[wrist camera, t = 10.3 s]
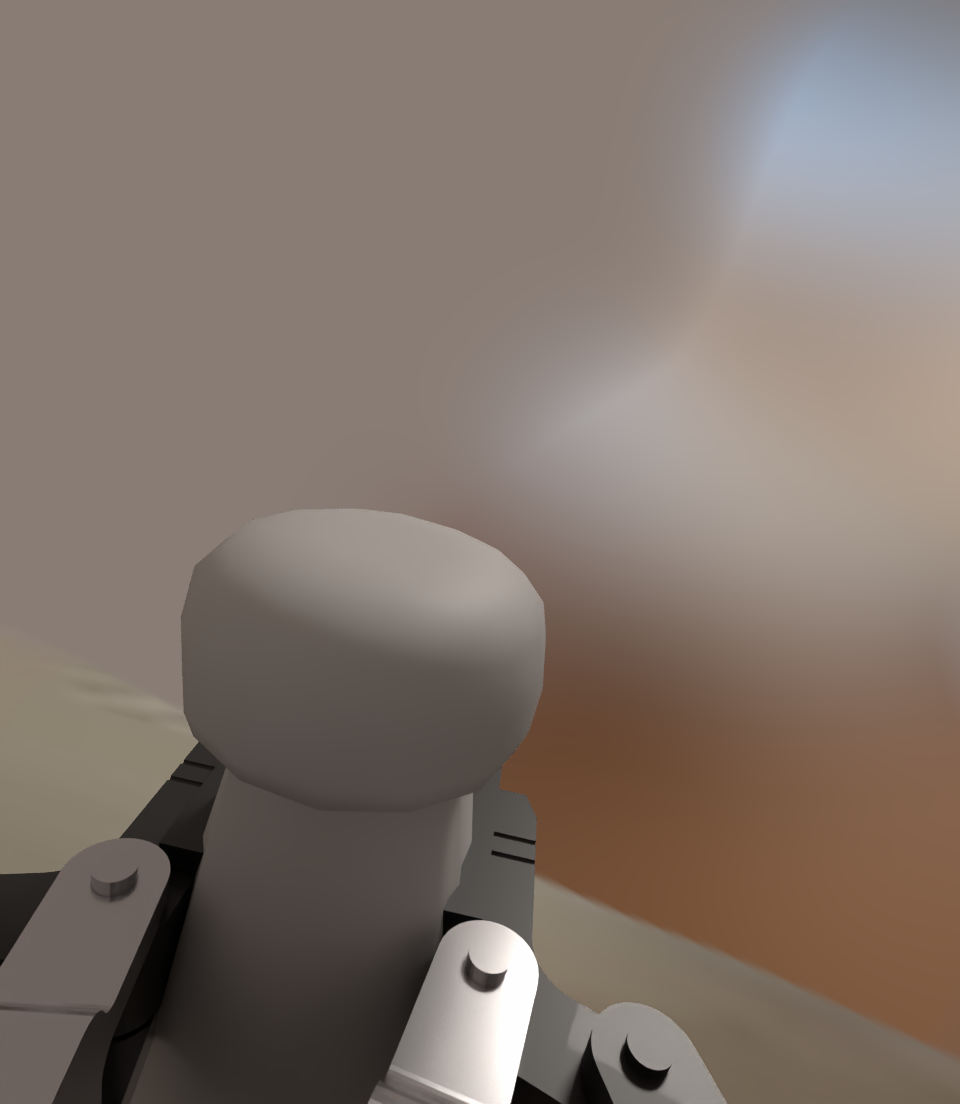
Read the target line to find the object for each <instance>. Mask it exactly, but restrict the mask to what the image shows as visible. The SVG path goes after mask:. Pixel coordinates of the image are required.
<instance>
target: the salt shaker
mask: <svg viewBox="0 0 960 1104" xmlns="http://www.w3.org/2000/svg"><path fill="white" fill-rule="evenodd" d="M181 637H182V638H181V639H182V676H183V703H184V714H185V716H186V719H187V721H188V724H189V726H190V729H191V731H192V734H193V736H194V737H195V738H196V739H197V740H198V741H199V742H200V743H201V744H202V745H203V746H204V747H205V748H206V749H207V750H208V751H209V752H210V753H212V754H213V755H214V756H215V757H216V758H217V759H218V760H219V761H220V762H221V763H222V764H223V765H224V766H225V767H226V769H225V772H224V775H223V778H222V781H221V784H220V787H219V790H218V792H217V795H216V798H215V801H214V804H213V807H212V810H211V813H210V816H209V819H208V822H207V825H206V828H205V831H204V834H203V847H204V854H203V857H202V859H201V862H200V865H199V867H198V870H197V873H196V876H195V880H194V884H193V888H192V892H191V897H190V901H189V905H188V909H187V913H186V917H185V920H184V924H183V927H182V931H181V935H180V938H179V942H178V945H177V949H176V953H175V956H174V960H173V963H172V967H171V971H170V974H169V978H168V981H167V985H166V989H165V992H164V996H163V999H162V1005H161V1006H160V1009H159V1012H158V1016H157V1020H156V1028H155V1036H154V1040H153V1042H152V1045H151V1048H150V1051H149V1053H148V1056H147V1059H146V1062H145V1064H144V1067H143V1070H142V1073H141V1075H140V1078H139V1081H138V1084H137V1086H136V1089H135V1092H134V1095H133V1097H132V1100H131V1103H130V1104H368V1102H369V1100H370V1097H371V1095H372V1093H373V1091H374V1089H375V1087H376V1085H377V1083H378V1081H379V1080H380V1079H381V1078H383V1079H384V1078H385V1076H386V1074H387V1072H388V1070H389V1068H390V1065H391V1063H392V1060H393V1058H394V1055H395V1053H396V1050H397V1048H398V1045H399V1043H400V1040H401V1038H402V1035H403V1033H404V1031H405V1028H406V1026H407V1023H408V1021H409V1018H410V1016H411V1013H412V1011H413V1008H414V1006H415V1003H416V1001H417V998H418V996H419V993H420V991H421V988H422V986H423V983H424V981H425V978H426V976H427V973H428V971H429V968H430V966H431V963H432V961H433V958H434V956H435V953H436V950H437V948H438V945H439V943H440V940H441V938H442V935H443V909H444V907H445V905H446V902H447V900H448V898H449V897H450V896H451V894H452V893H453V892H454V890H455V889H456V888H457V887H458V885H459V884H460V875H461V866H462V864H463V861H464V859H465V857H466V854H467V852H468V849H469V847H470V845H471V842H472V813H473V793H474V792H477V791H480V790H481V789H482V787H483V786H484V785H485V784H486V783H487V782H488V781H489V780H490V779H491V777H492V776H493V775H494V774H495V773H496V772H497V771H498V770H499V769H500V767H501V766H502V765H503V764H504V763H505V762H506V761H507V760H508V759H509V757H510V756H511V755H512V754H513V753H514V752H515V750H516V748H518V746H519V745H520V743H521V742H522V741H523V739H524V738H525V736H526V735H527V734H528V731H529V728H530V725H531V722H532V719H533V716H534V713H535V710H536V707H537V703H538V700H539V697H540V694H541V691H542V688H543V672H544V655H545V638H546V632H545V618H544V603H543V601H542V600H541V598H540V597H539V595H538V594H537V592H536V591H535V589H534V588H533V586H532V585H531V583H530V582H529V580H528V579H527V577H526V575H525V574H524V573H523V572H522V571H521V570H520V569H519V568H517V567H516V566H515V565H514V564H513V563H512V562H511V561H510V560H509V559H508V558H507V557H505V556H504V555H503V554H502V553H501V552H500V551H499V550H497V549H495V548H493V547H491V546H489V545H487V544H485V543H483V542H481V541H479V540H477V539H475V538H472V537H470V536H468V535H466V534H464V533H462V532H460V531H458V530H455V529H452V528H449V527H445V526H442V525H439V524H435V523H432V522H428V521H425V520H421V519H418V518H414V517H411V516H407V515H404V514H398V513H389V512H381V511H372V510H363V509H312V510H311V509H310V510H294V511H289V512H285V513H281V514H277V515H272V516H268V517H263V518H259V519H254V520H252V521H250V522H249V523H248V524H246V525H245V526H244V527H242V528H241V529H240V530H238V531H237V532H236V533H234V534H233V535H231V536H230V537H229V538H227V539H226V540H225V541H223V542H222V543H221V544H220V545H219V546H218V547H216V548H215V549H214V550H213V551H212V552H211V553H209V554H208V555H207V556H206V557H205V558H204V559H202V560H201V561H200V562H199V563H197V564H196V565H195V567H194V570H193V574H192V578H191V581H190V585H189V589H188V593H187V597H186V600H185V604H184V608H183V611H182V615H181Z"/></svg>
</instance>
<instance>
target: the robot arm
mask: <svg viewBox="0 0 960 1104" xmlns="http://www.w3.org/2000/svg"><path fill="white" fill-rule="evenodd" d="M501 768H502V766H501V767H500V769H499V770H498V771H497V772H496V773H495V774H494V775H493V776H492V777H491V779H490V780H489V781H488V782H487V783H486V784H485V785H484V786H483V787H482V789H481V790H480V791H477V792H474V793H473V813H472V842H471V845H470V847H469V849H468V852H467V854H466V857H465V859H464V861H463V864H462V866H461V875H460V884H459V885H458V887H457V888H456V889H455V890H454V892H453V893H452V894H451V896H450V897H449V898H448V900H447V902H446V905H445V907H444V909H443V935H442V938H441V940H440V943H439V945H438V948H437V950H436V953H435V956H434V958H433V961H432V963H431V966H430V968H429V971H428V973H427V976H426V978H425V981H424V983H423V986H422V988H421V991H420V993H419V996H418V998H417V1001H416V1003H415V1006H414V1008H413V1011H412V1013H411V1016H410V1018H409V1021H408V1023H407V1026H406V1028H405V1031H404V1033H403V1035H402V1038H401V1040H400V1043H399V1045H398V1048H397V1050H396V1053H395V1055H394V1058H393V1060H392V1063H391V1065H390V1068H389V1070H388V1072H387V1074H386V1076H385V1078H384V1079H383V1078H381V1079H380V1080H379V1081H378V1083H377V1085H376V1087H375V1089H374V1091H373V1093H372V1095H371V1097H370V1100H369V1102H368V1104H727V1103H726V1101H725V1099H724V1097H723V1096H722V1094H721V1092H720V1090H719V1089H718V1087H717V1085H716V1084H715V1082H714V1080H713V1078H712V1077H711V1075H710V1073H709V1071H708V1070H707V1068H706V1066H705V1064H704V1063H703V1061H702V1059H701V1058H700V1056H699V1054H698V1052H697V1051H696V1049H695V1047H694V1045H693V1044H692V1042H691V1041H690V1039H689V1038H688V1036H687V1035H686V1034H685V1033H684V1032H683V1030H682V1029H681V1028H680V1027H679V1026H678V1025H677V1024H676V1023H675V1022H674V1021H673V1020H671V1019H670V1018H668V1017H667V1016H666V1015H664V1014H663V1013H661V1012H659V1011H658V1010H656V1009H654V1008H651V1007H649V1006H646V1005H643V1004H639V1003H631V1002H625V1003H618V1004H614V1005H611V1006H610V1007H608V1008H606V1009H605V1010H604V1011H603V1012H601V1013H600V1014H598V1013H596V1012H594V1011H592V1010H591V1009H589V1008H587V1007H585V1006H584V1005H582V1004H580V1003H578V1002H577V1001H575V1000H573V999H572V998H570V997H568V996H567V995H565V994H564V993H563V992H561V991H560V990H559V989H558V988H557V987H555V985H554V984H553V983H552V982H551V981H550V980H549V979H548V978H547V976H546V975H545V974H544V972H543V971H542V969H541V968H540V966H539V964H538V962H537V960H536V957H535V954H534V950H533V946H532V925H533V899H534V874H535V865H534V863H535V848H536V847H535V842H536V822H537V820H536V819H537V818H536V816H535V813H534V811H533V809H532V807H531V805H530V803H529V801H528V799H527V797H526V795H523V794H518V793H514V792H510V791H505V790H501V789H499V785H500V777H501ZM225 769H226V767H225V766H224V765H223V764H222V763H221V762H220V761H219V760H218V759H217V758H216V757H215V756H214V755H213V754H212V753H210V752H209V751H208V750H207V749H206V748H205V747H204V746H203V745H202V744H201V743H200V742H198V744H197V745H196V746H195V747H194V748H193V750H192V751H191V752H190V753H189V755H188V756H187V757H186V758H185V759H184V763H183V764H180V765H179V767H178V768H177V769H176V770H175V772H174V773H173V774H172V775H171V778H170V780H167V781H166V782H165V784H164V785H163V786H162V787H161V789H160V790H159V791H158V792H157V793H156V795H155V796H154V797H153V798H152V799H151V801H150V802H149V803H148V804H147V806H146V807H145V808H144V809H143V810H142V812H141V813H140V814H139V815H138V816H137V818H136V819H135V820H134V821H133V823H132V824H131V825H130V826H129V827H128V829H127V830H126V831H125V832H124V833H123V835H122V836H121V837H120V838H119V839H113V840H108V841H104V842H101V843H97V844H95V845H93V846H90V847H88V848H86V849H85V850H83V851H81V852H79V853H78V854H77V855H75V856H74V857H73V858H72V859H70V860H69V861H68V862H67V863H66V864H65V866H64V867H63V868H62V870H61V871H55V872H46V873H25V874H0V1104H130V1103H131V1100H132V1097H133V1095H134V1092H135V1089H136V1086H137V1084H138V1081H139V1078H140V1075H141V1073H142V1070H143V1067H144V1064H145V1062H146V1059H147V1056H148V1053H149V1051H150V1048H151V1045H152V1042H153V1040H154V1036H155V1028H156V1020H157V1016H158V1012H159V1009H160V1006H161V1005H162V999H163V996H164V992H165V989H166V985H167V981H168V978H169V974H170V971H171V967H172V963H173V960H174V956H175V953H176V949H177V945H178V942H179V938H180V935H181V931H182V927H183V924H184V920H185V917H186V913H187V909H188V905H189V901H190V897H191V892H192V888H193V884H194V880H195V876H196V873H197V870H198V867H199V865H200V862H201V859H202V857H203V854H204V847H203V834H204V831H205V828H206V825H207V822H208V819H209V816H210V813H211V810H212V807H213V804H214V801H215V798H216V795H217V792H218V790H219V787H220V784H221V781H222V778H223V775H224V772H225Z"/></svg>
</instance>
